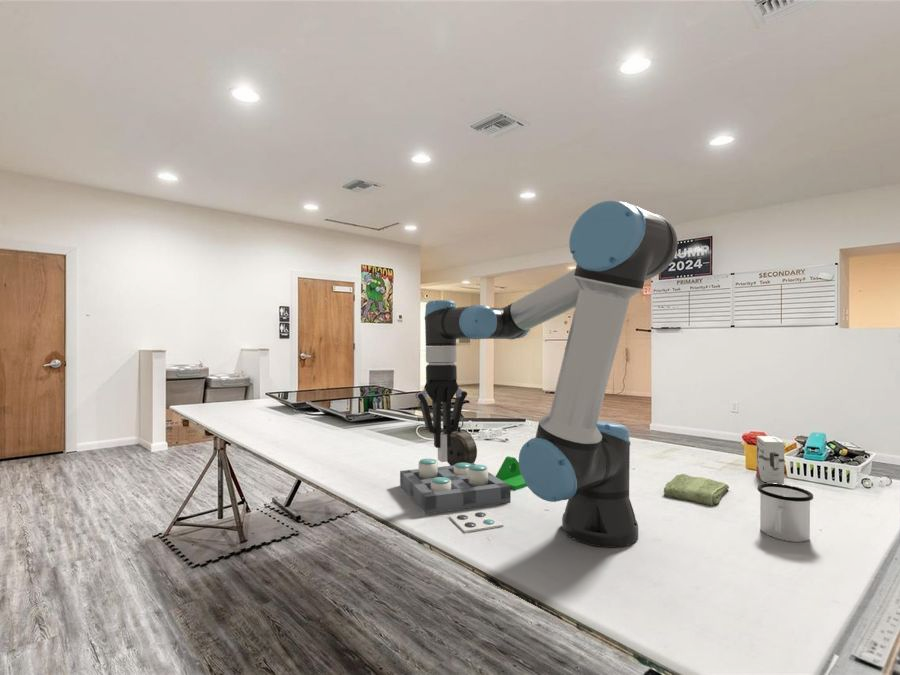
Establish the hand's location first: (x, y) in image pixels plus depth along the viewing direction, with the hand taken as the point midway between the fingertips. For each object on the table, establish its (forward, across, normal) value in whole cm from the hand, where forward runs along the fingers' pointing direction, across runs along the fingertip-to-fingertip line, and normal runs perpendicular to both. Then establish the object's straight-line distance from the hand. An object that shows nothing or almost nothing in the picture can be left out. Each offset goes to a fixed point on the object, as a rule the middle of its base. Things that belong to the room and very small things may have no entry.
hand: (442, 460), depth 115 cm
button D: (+9, -10, -11) cm, 17 cm away
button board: (+10, -5, -6) cm, 13 cm away
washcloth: (+12, -65, +16) cm, 68 cm away
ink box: (+12, -94, +15) cm, 96 cm away
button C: (+7, -10, -1) cm, 12 cm away
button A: (+9, 0, -1) cm, 9 cm away
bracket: (+11, -25, -8) cm, 29 cm away
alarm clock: (+10, -14, -24) cm, 29 cm away
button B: (+7, 0, -11) cm, 13 cm away
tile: (+11, -3, +13) cm, 17 cm away
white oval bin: (+12, -59, +42) cm, 73 cm away
